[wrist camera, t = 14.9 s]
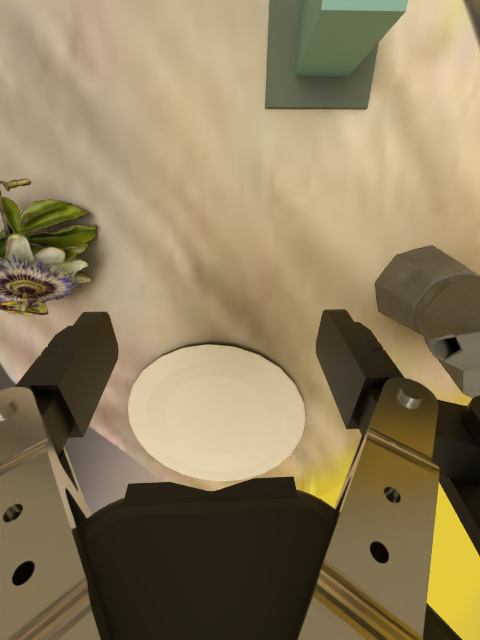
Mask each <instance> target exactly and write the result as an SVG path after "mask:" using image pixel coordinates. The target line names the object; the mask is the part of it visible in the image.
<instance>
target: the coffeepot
mask: <svg viewBox="0 0 480 640" xmlns="http://www.w3.org/2000/svg"><path fill="white" fill-rule="evenodd" d="M376 298H377V302H378V308H379V312H381V313H383V314H385V315H386V316H388V317H390V318H392V319H394V320H395V321H397V322H399V323H401V324H403V325H405V326H406V327H408V328H410V329H412V330H414V331H416V332H418V333H419V334H421V335H423V336H424V338H425V343H426V344H427V345H428V347H429V349H430V351H431V352H432V354H433V355H434V356H435V358H437V359H438V360H439V362H440V363H441V364H442V366H443V367H444V369H445V370H446V371H447V373H448V374H449V375H450V377H451V378H452V379H453V381H454V382H455V384H456V385H457V386H458V388H459V389H460V390H461V392H462V393H463V394H465V395H467V396H469V397H471V398H474V397H476V396H480V276H479V275H477V274H476V273H474V272H473V271H471V270H470V269H468V268H467V267H465V266H464V265H462V264H461V263H460V262H458V261H457V260H455V259H453V258H452V257H450V256H449V255H447V254H445V253H444V252H442V251H441V250H439V249H437V248H436V247H434V246H433V245H432V246H428V247H424V248H420V249H414V250H411V251H408V252H406V253H403V254H399V255H397V256H396V257H395V258H394V259H393V260H392V262H391V263H390V264H389V265H388V266H387V267H386V268H385V270H384V271H383V273H382V274H381V276H380V278H379V279H378V281H377V282H376Z"/></svg>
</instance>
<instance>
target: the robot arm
mask: <svg viewBox="0 0 480 640" xmlns="http://www.w3.org/2000/svg"><path fill="white" fill-rule="evenodd" d="M316 354H317V358H318V360H319V363H320V365H321V367H322V370H323V372H324V375H325V377H326V380H327V382H328V385H329V387H330V390H331V392H332V395H333V397H334V399H335V402H336V404H337V407H338V409H339V412H340V414H341V417H342V419H343V422H344V424H345V427H346V429H359V430H360V432H361V434H362V436H361V439H360V441H359V444H358V447H357V449H356V452H355V455H354V457H353V460H352V463H351V465H350V468H349V471H348V474H347V476H346V479H345V482H344V484H343V487H342V490H341V492H340V495H339V497H338V500H337V502H336V505H335V507H334V508H333V507H332V506H330V505H329V504H327V503H326V502H324V501H322V500H321V499H319V498H317V497H315V496H313V495H311V494H309V493H306V492H303V491H300V490H296V486H295V481H294V477H274V478H254V479H250V480H247V481H244V482H241V483H238V484H235V485H232V486H229V487H226V488H223V489H220V490H217V491H205V490H201V489H197V488H193V487H189V486H184V485H180V484H176V483H172V482H159V483H136V484H128V487H127V491H126V495H125V498H123V499H120V500H117V501H115V502H113V503H111V504H109V505H107V506H105V507H103V508H102V509H100V510H98V511H97V512H95V513H94V514H93V515H91V513H90V511H89V509H88V507H87V505H86V503H85V501H84V498H83V495H82V493H81V490H80V487H79V485H78V482H77V479H76V476H75V474H74V471H73V468H72V465H71V463H70V460H69V457H68V455H67V452H66V450H65V448H64V446H65V444H66V441H67V440H68V438H71V437H84V434H85V432H86V430H87V428H88V425H89V423H90V421H91V419H92V416H93V414H94V412H95V409H96V407H97V405H98V403H99V400H100V398H101V396H102V394H103V391H104V389H105V387H106V385H107V382H108V380H109V378H110V375H111V373H112V371H113V369H114V366H115V364H116V362H117V359H118V343H117V340H116V337H115V333H114V330H113V326H112V323H111V319H110V316H109V314H108V313H107V312H83V313H82V314H81V316H80V317H79V318H78V320H77V321H76V322H75V324H74V325H73V326H68V327H66V328H65V329H63V330H62V331H60V332H59V333H58V334H56V335H55V336H54V338H53V339H52V340H51V341H50V343H49V344H48V347H46V348H45V349H44V350H43V352H42V353H41V356H39V357H38V358H37V359H36V361H35V362H34V363H33V364H32V366H31V367H30V368H29V370H28V371H27V372H26V373H25V375H24V376H23V377H22V378H21V380H20V381H19V382H18V384H17V385H16V386H15V387H13V388H8V389H4V390H2V391H0V640H462V639H461V638H460V637H459V636H458V635H457V634H456V633H455V632H454V631H453V630H452V629H451V628H450V627H449V625H447V623H446V622H445V621H444V620H443V619H442V618H441V617H440V616H439V615H438V614H437V613H436V612H435V611H434V610H433V609H432V608H431V607H430V606H429V605H428V604H427V603H426V601H427V592H428V581H429V572H430V562H431V553H432V543H433V533H434V523H435V514H436V504H437V494H438V484H439V482H440V484H441V486H442V488H443V490H444V492H445V493H446V495H447V497H448V499H449V501H450V503H451V504H452V506H453V508H454V510H455V512H456V513H457V515H458V517H459V519H460V521H461V523H462V524H463V526H464V528H465V530H466V532H467V534H468V535H469V537H470V539H471V541H472V543H473V545H474V547H475V548H476V550H477V552H478V554H479V556H480V396H476V397H474V398H473V399H472V400H471V402H470V403H469V404H468V406H463V405H459V404H454V403H450V402H445V401H441V400H437V399H436V397H435V395H434V394H433V393H432V392H431V391H430V390H429V389H428V388H426V387H425V386H423V385H422V384H420V383H418V382H416V381H414V380H411V379H407V378H404V377H403V375H402V374H401V372H400V371H399V370H398V368H397V367H396V365H395V364H394V363H393V361H392V360H391V358H390V357H389V356H388V354H387V353H386V351H385V350H383V347H382V346H381V344H380V343H379V342H377V339H376V337H375V336H374V335H373V333H372V332H371V330H369V329H368V328H367V327H365V326H364V325H362V324H361V323H360V322H354V321H353V319H352V318H351V316H350V315H349V313H348V312H347V311H346V310H345V309H334V310H324V311H323V314H322V317H321V322H320V327H319V331H318V336H317V340H316Z"/></svg>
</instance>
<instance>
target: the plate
mask: <svg viewBox="0 0 480 640" xmlns="http://www.w3.org/2000/svg"><path fill="white" fill-rule="evenodd" d="M128 413H129V422H130V425H131V427H132V429H133V432H134V434H135V436H136V438H137V440H138V441H139V442H140V444H141V445H142V446H143V447H144V448H145V450H146V451H147V452H148V453H149V454H150V455H151V456H153V457H154V458H155V459H157V460H158V461H159V462H161V463H162V464H163V465H165V466H167V467H169V468H171V469H173V470H175V471H177V472H179V473H181V474H184V475H187V476H191V477H195V478H198V479H202V480H213V481H232V480H243V479H246V478H250V477H253V476H257V475H260V474H263V473H265V472H267V471H269V470H270V469H272V468H274V467H276V466H278V465H279V464H280V463H282V462H283V461H284V460H285V459H286V458H287V457H288V456H289V455H291V454H292V453H293V451H294V449H295V448H296V446H297V445H298V443H299V441H300V440H301V438H302V435H303V430H304V426H305V422H306V418H305V409H304V402H303V399H302V397H301V395H300V393H299V391H298V389H297V387H296V385H295V383H294V382H293V381H292V380H291V379H290V378H289V377H288V375H287V374H286V373H285V372H284V371H283V370H282V369H281V368H280V367H279V366H277V365H276V364H274V363H272V362H271V361H269V360H268V359H266V358H264V357H263V356H261V355H260V354H257V353H254V352H251V351H248V350H245V349H242V348H239V347H236V346H228V345H217V344H203V345H196V346H189V347H182V348H180V349H178V350H175V351H173V352H170V353H168V354H165V355H163V356H161V357H159V358H158V359H157V360H155V361H154V362H153V363H152V364H150V365H149V366H148V367H147V368H145V369H144V370H143V371H142V373H141V374H140V376H139V377H138V379H137V380H136V382H135V383H134V385H133V386H132V389H131V393H130V397H129V401H128Z"/></svg>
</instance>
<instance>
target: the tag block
mask: <svg viewBox="0 0 480 640" xmlns="http://www.w3.org/2000/svg"><path fill="white" fill-rule="evenodd" d="M407 2H408V0H302V2H301V11H300V23H299V35H298V47H297V59H296V71H295V76H333V77H348V76H349V75H350V74H351V73H352V72H353V71H354V69H355V68H356V67H357V66H358V65H359V64H360V63H361V61H362V60H363V59H364V58H365V57H366V56H367V55H368V54H369V52H370V51H371V50H372V49H373V48H374V47H375V46H376V44H377V43H378V42H379V41H380V40H381V39H382V38H383V36H384V35H385V34H386V33H387V32H388V31H389V30H390V29H391V27H392V26H393V25H394V24H395V23H396V22H397V21H398V19H399V18H400V17H401V16H402V15H403V14H404V13H405V11H406V7H407Z"/></svg>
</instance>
